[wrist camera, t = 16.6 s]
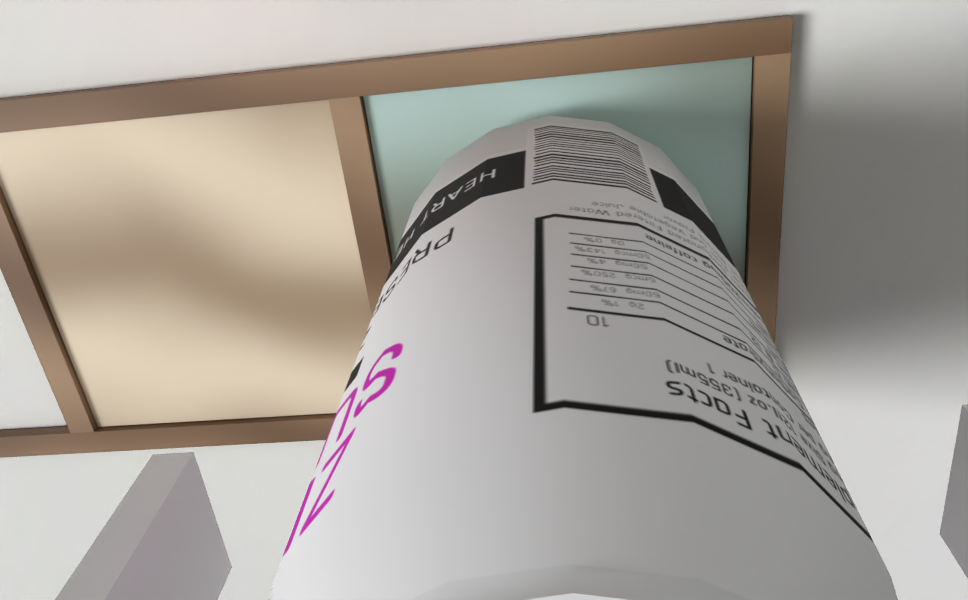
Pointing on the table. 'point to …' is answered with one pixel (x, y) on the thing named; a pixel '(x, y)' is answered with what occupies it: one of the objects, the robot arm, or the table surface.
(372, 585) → the supplement can
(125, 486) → the table surface
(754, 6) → the table surface
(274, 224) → the frame
